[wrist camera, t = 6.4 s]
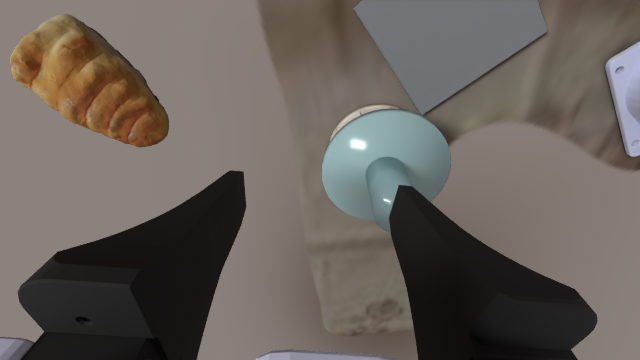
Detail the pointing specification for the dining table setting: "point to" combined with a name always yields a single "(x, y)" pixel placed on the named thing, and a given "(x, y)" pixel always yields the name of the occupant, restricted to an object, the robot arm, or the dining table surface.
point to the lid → (384, 162)
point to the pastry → (89, 82)
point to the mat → (447, 40)
